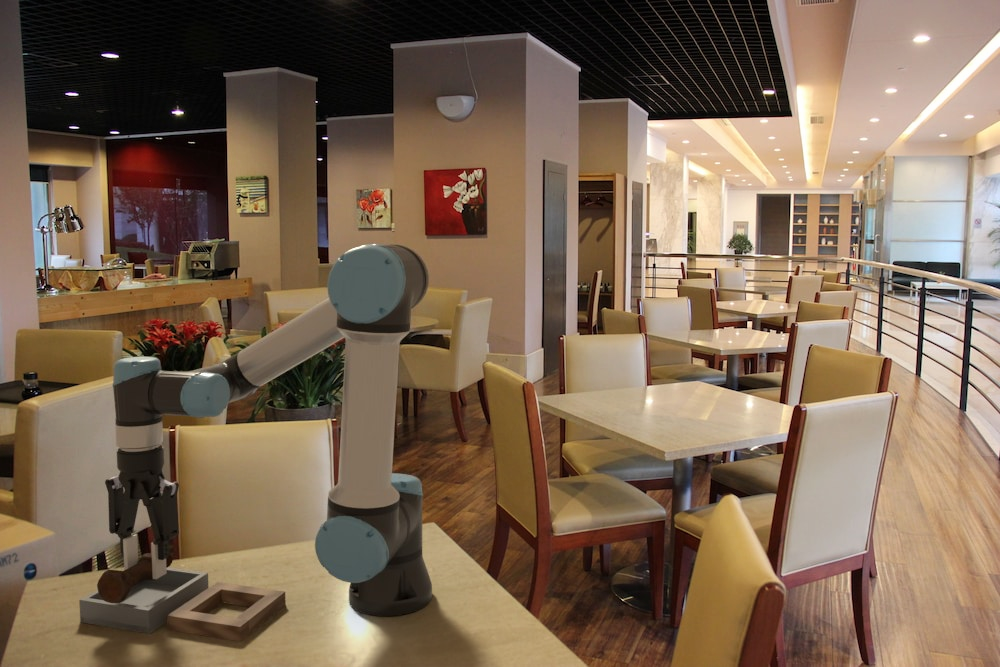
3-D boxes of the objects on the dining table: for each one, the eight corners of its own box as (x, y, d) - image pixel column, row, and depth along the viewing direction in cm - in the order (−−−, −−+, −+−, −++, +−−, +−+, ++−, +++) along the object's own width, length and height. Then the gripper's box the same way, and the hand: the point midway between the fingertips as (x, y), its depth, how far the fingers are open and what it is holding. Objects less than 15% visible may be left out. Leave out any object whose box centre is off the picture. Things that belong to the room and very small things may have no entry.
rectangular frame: (285, 604, 146) (285, 591, 146) (240, 641, 133) (240, 626, 132) (218, 595, 150) (217, 582, 150) (167, 629, 136) (167, 615, 136)
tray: (208, 593, 150) (208, 572, 150) (149, 633, 135) (148, 610, 135) (145, 584, 154) (144, 564, 154) (80, 622, 139) (79, 599, 138)
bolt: (162, 537, 150) (106, 565, 135) (183, 553, 149) (129, 583, 134) (148, 563, 150) (91, 593, 136) (169, 578, 150) (114, 610, 135)
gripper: (198, 444, 142) (203, 572, 145) (112, 437, 147) (118, 560, 150) (170, 455, 135) (175, 589, 138) (80, 447, 140) (87, 576, 143)
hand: (145, 573), depth 144 cm, fingers closed on bolt, 5 cm apart
